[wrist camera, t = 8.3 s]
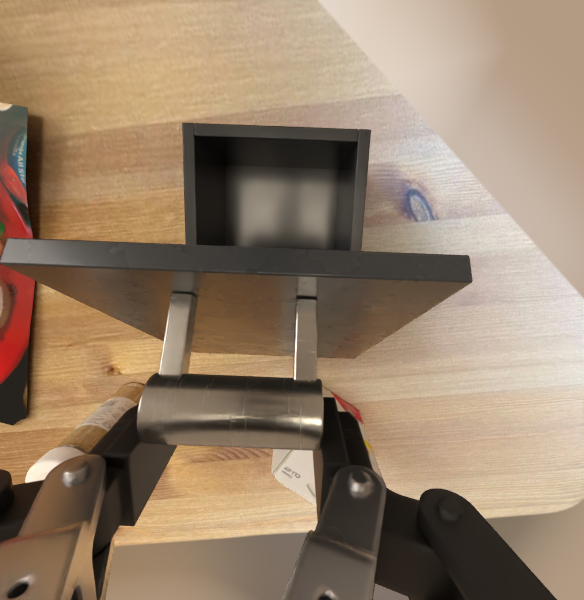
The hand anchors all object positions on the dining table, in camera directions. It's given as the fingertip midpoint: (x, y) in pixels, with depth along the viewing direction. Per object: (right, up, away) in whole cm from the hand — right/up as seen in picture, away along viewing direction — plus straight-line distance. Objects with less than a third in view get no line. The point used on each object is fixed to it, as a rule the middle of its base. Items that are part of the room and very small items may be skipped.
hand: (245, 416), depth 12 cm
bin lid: (0, +3, +5) cm, 6 cm away
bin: (0, +11, +22) cm, 24 cm away
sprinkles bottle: (-16, -7, +26) cm, 31 cm away
